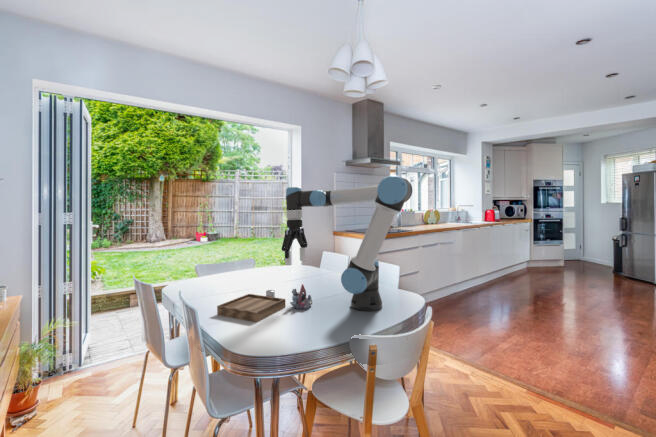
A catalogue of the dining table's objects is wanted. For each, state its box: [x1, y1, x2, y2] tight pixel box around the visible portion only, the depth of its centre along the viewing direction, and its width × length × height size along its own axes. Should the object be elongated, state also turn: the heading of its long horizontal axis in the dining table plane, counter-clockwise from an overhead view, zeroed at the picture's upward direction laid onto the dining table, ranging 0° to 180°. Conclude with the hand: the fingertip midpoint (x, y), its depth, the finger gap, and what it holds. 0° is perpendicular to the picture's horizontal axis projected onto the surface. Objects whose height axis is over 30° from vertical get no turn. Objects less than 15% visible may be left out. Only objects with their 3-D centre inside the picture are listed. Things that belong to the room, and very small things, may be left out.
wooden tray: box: [216, 293, 286, 323], centre depth 151 cm, size 22×22×4 cm
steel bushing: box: [265, 289, 276, 298], centre depth 167 cm, size 4×4×5 cm
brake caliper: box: [289, 283, 313, 310], centre depth 157 cm, size 11×11×12 cm
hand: (295, 262), depth 157 cm, fingers open, 13 cm apart
